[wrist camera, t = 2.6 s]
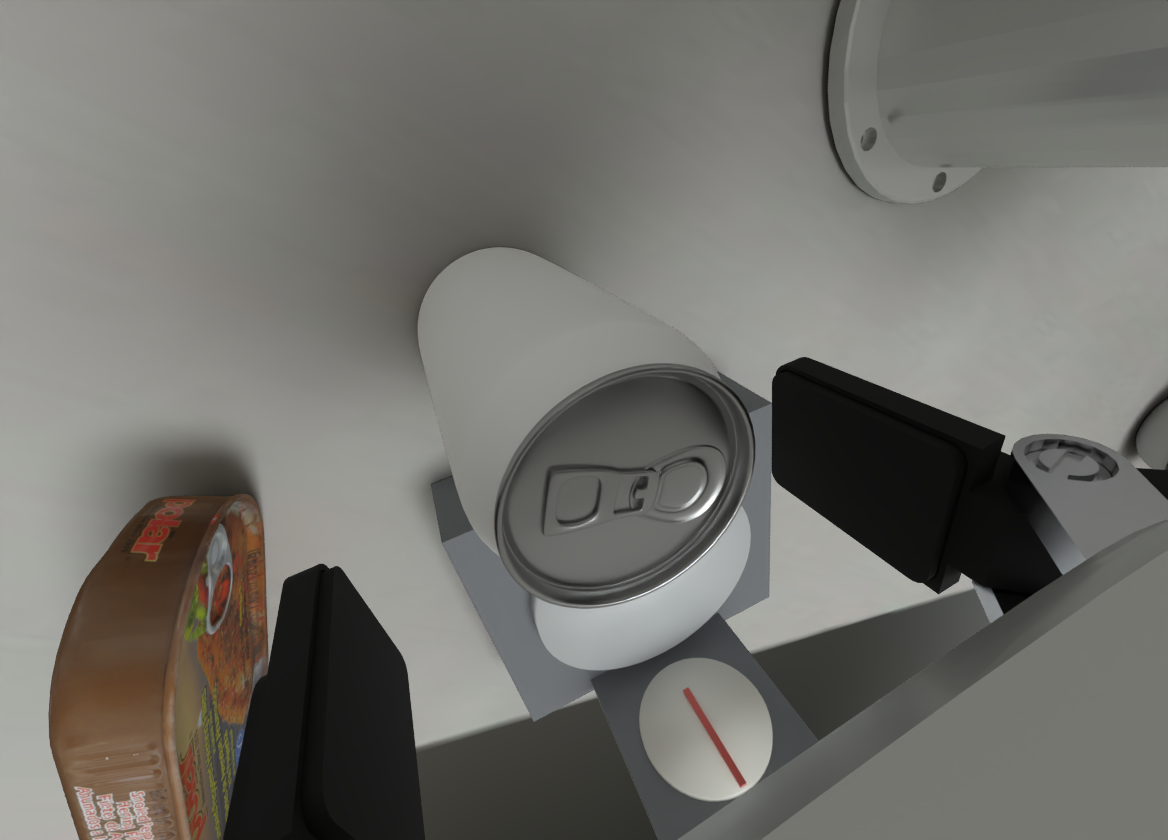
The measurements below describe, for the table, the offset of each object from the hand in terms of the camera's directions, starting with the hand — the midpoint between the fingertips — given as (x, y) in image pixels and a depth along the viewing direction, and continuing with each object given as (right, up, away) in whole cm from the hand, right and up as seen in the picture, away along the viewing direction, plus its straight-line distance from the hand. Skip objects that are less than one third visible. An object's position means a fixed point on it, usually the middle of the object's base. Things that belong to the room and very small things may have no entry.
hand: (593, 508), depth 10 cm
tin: (-15, -6, +10) cm, 20 cm away
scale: (+1, -4, +17) cm, 17 cm away
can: (-4, +5, +10) cm, 12 cm away
